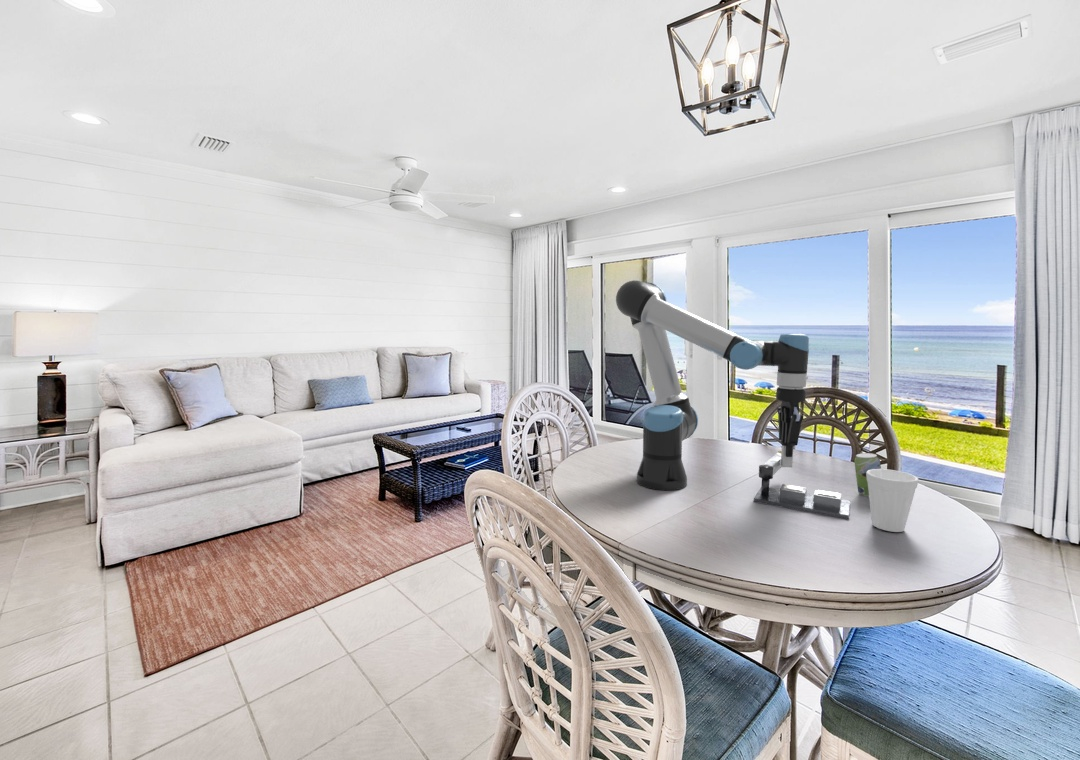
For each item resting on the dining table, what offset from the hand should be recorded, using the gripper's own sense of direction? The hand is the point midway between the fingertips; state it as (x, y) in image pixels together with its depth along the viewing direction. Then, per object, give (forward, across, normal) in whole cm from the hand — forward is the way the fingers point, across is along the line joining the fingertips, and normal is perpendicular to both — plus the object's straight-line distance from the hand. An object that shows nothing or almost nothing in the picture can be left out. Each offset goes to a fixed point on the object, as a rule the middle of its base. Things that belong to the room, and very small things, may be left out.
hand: (786, 466), depth 140 cm
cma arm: (+1, 0, +3) cm, 3 cm away
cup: (+7, -26, -14) cm, 30 cm away
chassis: (+7, -11, 0) cm, 13 cm away
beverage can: (+7, -3, -21) cm, 23 cm away
